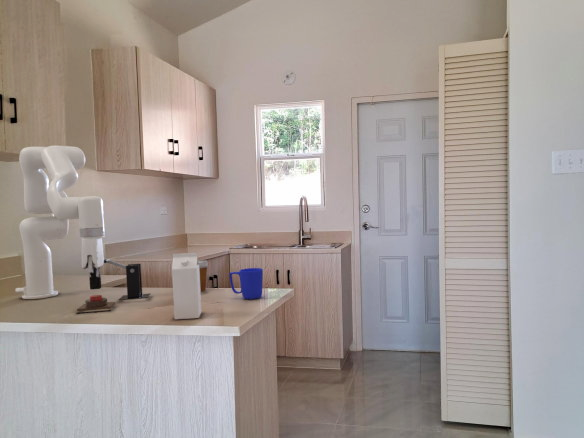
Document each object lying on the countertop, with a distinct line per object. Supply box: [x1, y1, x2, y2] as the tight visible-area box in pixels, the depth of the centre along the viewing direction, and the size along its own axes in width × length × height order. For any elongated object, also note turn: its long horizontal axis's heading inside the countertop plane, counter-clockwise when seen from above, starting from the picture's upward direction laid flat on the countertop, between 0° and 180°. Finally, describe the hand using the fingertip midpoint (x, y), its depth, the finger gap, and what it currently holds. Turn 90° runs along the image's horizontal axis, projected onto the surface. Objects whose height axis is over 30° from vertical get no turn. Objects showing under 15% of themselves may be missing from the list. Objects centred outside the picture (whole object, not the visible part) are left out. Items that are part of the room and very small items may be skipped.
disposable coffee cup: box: [198, 259, 209, 292], centre depth 178 cm, size 10×10×12 cm
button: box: [89, 294, 103, 301], centre depth 155 cm, size 4×4×2 cm
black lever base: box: [118, 263, 151, 301], centre depth 170 cm, size 10×8×13 cm
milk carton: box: [171, 252, 202, 320], centre depth 140 cm, size 7×7×19 cm
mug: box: [228, 267, 264, 300], centre depth 164 cm, size 8×12×10 cm
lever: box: [104, 257, 127, 270], centre depth 169 cm, size 12×5×2 cm, turn 99°
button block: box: [76, 297, 116, 315], centre depth 155 cm, size 10×8×4 cm
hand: (95, 288), depth 155 cm, fingers closed
